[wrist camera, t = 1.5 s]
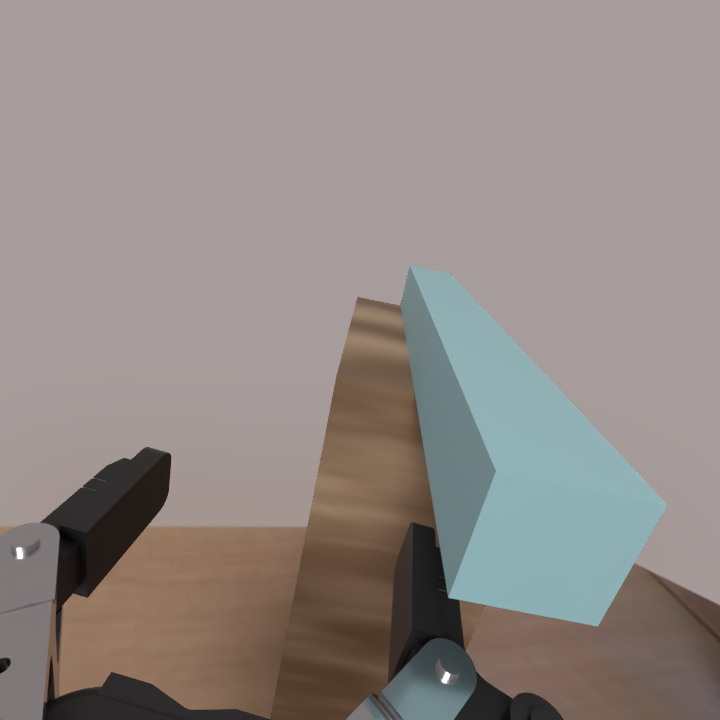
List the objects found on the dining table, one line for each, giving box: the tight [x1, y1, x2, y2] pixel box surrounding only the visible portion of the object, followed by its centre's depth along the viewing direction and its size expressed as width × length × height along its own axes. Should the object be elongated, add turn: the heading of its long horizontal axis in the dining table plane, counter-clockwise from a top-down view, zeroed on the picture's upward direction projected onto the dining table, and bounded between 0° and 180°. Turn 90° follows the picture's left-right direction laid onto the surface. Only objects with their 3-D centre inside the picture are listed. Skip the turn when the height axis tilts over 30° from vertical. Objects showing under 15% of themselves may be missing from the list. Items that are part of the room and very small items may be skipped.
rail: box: [400, 266, 667, 626], centre depth 20 cm, size 26×3×3 cm, turn 177°
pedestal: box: [270, 297, 485, 720], centre depth 31 cm, size 16×10×32 cm, turn 177°
